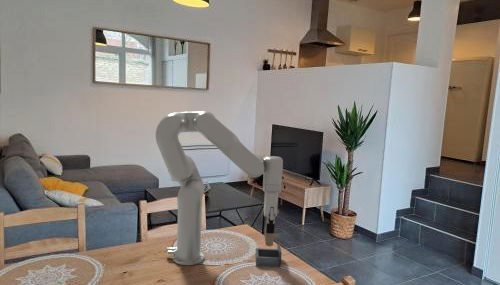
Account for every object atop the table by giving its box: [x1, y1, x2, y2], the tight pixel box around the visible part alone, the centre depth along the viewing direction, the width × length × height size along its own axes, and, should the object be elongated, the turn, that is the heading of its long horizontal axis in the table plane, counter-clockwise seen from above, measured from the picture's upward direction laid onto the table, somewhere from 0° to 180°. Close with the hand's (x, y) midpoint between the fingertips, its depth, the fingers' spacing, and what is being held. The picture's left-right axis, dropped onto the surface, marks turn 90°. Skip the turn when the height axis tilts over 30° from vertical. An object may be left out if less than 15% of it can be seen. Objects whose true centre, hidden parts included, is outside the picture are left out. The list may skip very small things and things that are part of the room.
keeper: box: [254, 243, 282, 268], centre depth 146 cm, size 10×9×6 cm
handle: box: [262, 208, 280, 247], centre depth 144 cm, size 5×6×15 cm
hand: (269, 230), depth 144 cm, fingers closed on handle, 3 cm apart
